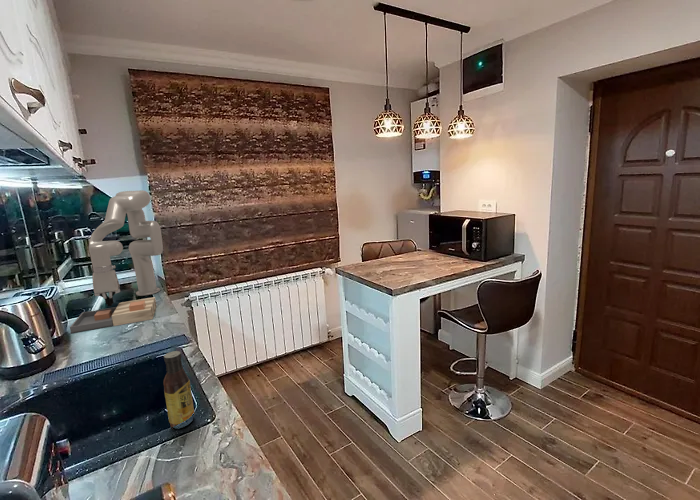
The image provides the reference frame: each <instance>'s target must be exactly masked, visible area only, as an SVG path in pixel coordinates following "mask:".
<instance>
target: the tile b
mask: <svg viewBox="0 0 700 500" xmlns="http://www.w3.org/2000/svg"><path fill="white" fill-rule="evenodd" d="M145 306H146V304H145V300H144V301H138V302H132V303H130V305H129V310H130V311H136V310H142V309H144V308H145Z"/></svg>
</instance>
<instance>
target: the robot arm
mask: <svg viewBox="0 0 700 500" xmlns="http://www.w3.org/2000/svg"><path fill="white" fill-rule="evenodd" d="M150 202H151V196H150V193H149V192H148V191H146V190H142V189H141V190H124V191H118V192H117V193H116V194H115V196H112V197H110V199H109V201H108V205H107V209H106V212H105V213H106V214H105V218H104V221H103V222H101V223H100V225H98V226H97V227H96V228H95V230H94V231H93V232H92V234H91V235H90V238H89V242H88V252H89V256H90V260H91V261H90V262H91V265H92V269H93V270H92V271H93V272H92V287H93V288H92V289H93V292H94V296H95V297H101V298H103V299H104V302H105V305H106V306H107V307H112V306H113V304H114V303H115V302H114V296H115V294H118V293H121V289H120V282H119V278H118V275H117V272H116V270H115V269H116V265H113V264H112V261H111V257H115V256H116V257H117V256H119V255H120V254H121V253H122V252H123V250H124V247H123V243H121V242H120V241H118V240H103V239H105V237H106V236H108V235H109V234H111V233H113V232H115V231H117V230H119V229H122V227H124V225H125V220H126V217H127V221H128V229H129V234H130V236H131V237H132V238H135V239H139V240H134V241H132V242H130V243H129V245H128V251H129V253H130V256H131V259H132V263H133V268H134V273H135V277H136V278H135V279H136V283H137V288H138V290H137V291H135V295H136V296H140V297H143V296H144V297H146V296H149V295H150V296H151V295H154V294H157V293H159V292H160V291H161V288H160V287H157V282H156V277H155V271H154V264H153V261H152V259H151V258H150V257H153V256H154V257H156V256H160V255H162V253H163V250H164V245H163V237H162V229H161V226H160V224H159V223H158V222H157V220H146V216H145V211H144V210H143V208H145V207H147V206H148V205H149V204H150ZM141 238H143V239H141ZM144 238H145V239H144ZM146 238H150V239H146Z"/></svg>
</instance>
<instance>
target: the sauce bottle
mask: <svg viewBox="0 0 700 500" xmlns="http://www.w3.org/2000/svg"><path fill="white" fill-rule="evenodd" d="M163 360H164V363H165V368H166V369H165V371H166V374H165V376H164V378H163V391H164V398H165V404H166V410H167V417H168V423H169V424H170V428H172V427H174V426H176V425H178V424H180V423H182V422H184V421H186V420H187V419H189V418H190V417H191V416H192V414H193V413H194V414H195V408H194V401H193V396H192V388H191V387H192V386H191V380H190V378H189V376H188V374H187V373H186V371H185V370H184V366H183V364H182V363H183V361H182V352H181V351H178V350H173V351H170V352H167V353H165V354H164V355H163ZM172 429H173V428H172Z"/></svg>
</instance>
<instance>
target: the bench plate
mask: <svg viewBox="0 0 700 500" xmlns="http://www.w3.org/2000/svg"><path fill="white" fill-rule="evenodd" d="M144 300H145V304H146V306H145V308H144V309H142V310H136V311H130V310H129V305H130V303H132V302H138V301H144ZM116 307H117V308H116V310H115V311H114V313H113V314H112V320H113V327H116V326H121V325H126V324H134V323H137V322H138V323H139V322H143V321H149V320H153V318H154V315H155V312H156V308H157V300H156V296H153V297H147V298H141V299H135V300H128V301H122V302H119V303H118V304H117V306H116Z"/></svg>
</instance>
